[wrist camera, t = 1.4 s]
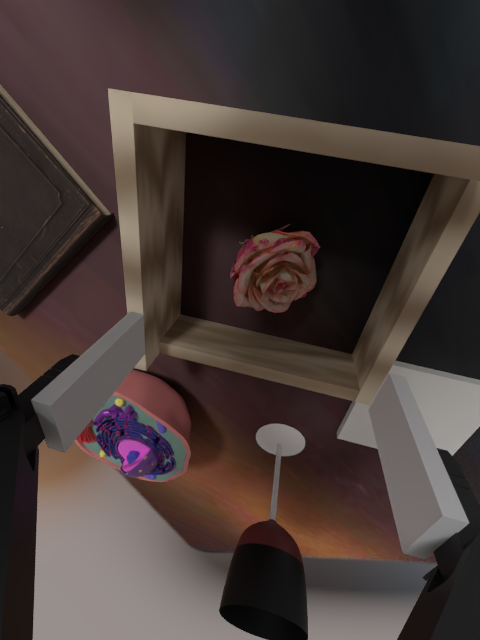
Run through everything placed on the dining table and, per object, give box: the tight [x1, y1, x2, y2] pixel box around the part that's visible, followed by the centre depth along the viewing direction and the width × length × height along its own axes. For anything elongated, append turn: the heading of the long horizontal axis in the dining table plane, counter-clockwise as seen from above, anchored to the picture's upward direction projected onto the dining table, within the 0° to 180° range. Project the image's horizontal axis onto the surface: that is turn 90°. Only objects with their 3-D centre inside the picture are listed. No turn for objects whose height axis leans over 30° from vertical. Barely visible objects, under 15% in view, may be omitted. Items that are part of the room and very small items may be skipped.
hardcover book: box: [0, 85, 114, 316], centre depth 32 cm, size 16×23×2 cm
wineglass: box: [219, 424, 308, 640], centre depth 35 cm, size 8×9×20 cm
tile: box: [337, 361, 480, 455], centre depth 35 cm, size 14×14×1 cm
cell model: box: [75, 369, 191, 482], centre depth 39 cm, size 17×20×11 cm
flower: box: [230, 224, 321, 313], centre depth 26 cm, size 9×9×7 cm
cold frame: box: [108, 89, 480, 405], centre depth 25 cm, size 22×24×9 cm
